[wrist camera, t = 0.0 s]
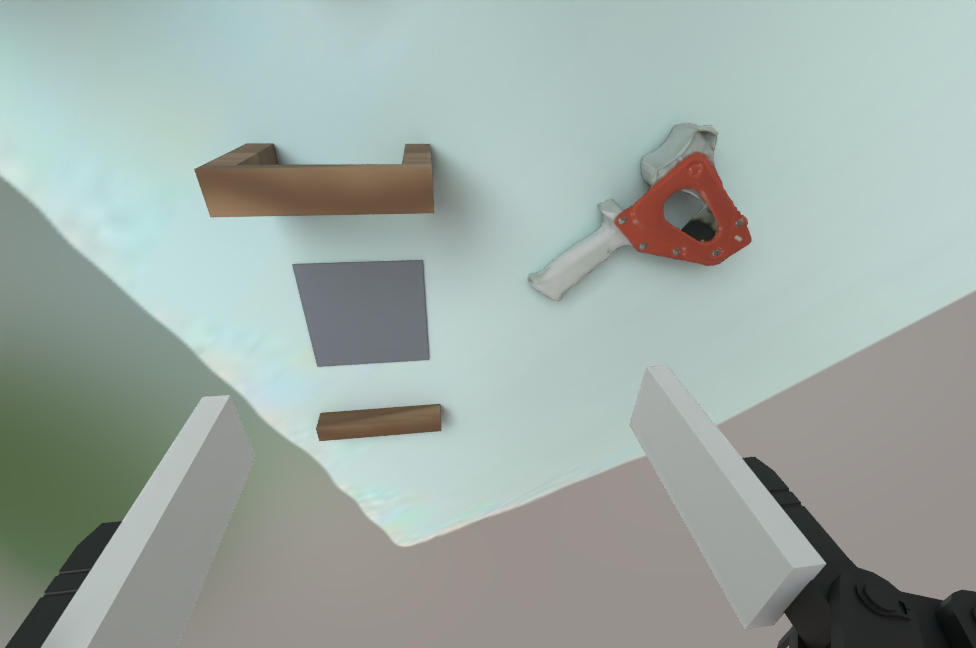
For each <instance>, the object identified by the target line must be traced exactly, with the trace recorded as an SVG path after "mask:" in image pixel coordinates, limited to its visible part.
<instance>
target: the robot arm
mask: <svg viewBox="0 0 976 648" xmlns="http://www.w3.org/2000/svg"><path fill="white" fill-rule="evenodd" d="M630 427H631V429H632V431H633V432H634V434H635V436H636V438H637V439H638V441H639V443H640V445H641V447H642V448H643V450H644V452H645V454H646V455H647V457H648V459H649V461H650V462H651V464H652V466H653V468H654V469H655V471H656V473H657V475H658V476H659V478H660V480H661V482H662V483H663V485H664V487H665V489H666V491H667V492H668V494H669V496H670V498H671V499H672V501H673V503H674V505H675V507H676V508H677V510H678V512H679V514H680V515H681V517H682V519H683V520H684V522H685V524H686V526H687V528H688V529H689V531H690V533H691V535H692V536H693V538H694V540H695V542H696V544H697V545H698V547H699V549H700V551H701V552H702V554H703V556H704V557H705V559H706V561H707V563H708V565H709V566H710V568H711V570H712V572H713V574H714V575H715V577H716V579H717V581H718V582H719V584H720V586H721V588H722V589H723V591H724V593H725V595H726V596H727V598H728V600H729V602H730V604H731V605H732V607H733V609H734V611H735V612H736V614H737V616H738V618H739V619H740V621H741V623H742V625H743V626H744V628H745V629H752V628H758V627H764V626H770V625H774V624H775V623H776V622H777V621H778V620H779V619H780V617H781V616H782V615H783V614H784V613H785V614H786V616H787V617H788V619H789V620H790V621H791V623H792V625H793V627H792V628H791V629H790V630H789V631H788V632H787V633H786V634H785V635H784V636H783V637H782V639H781V640H780V641H779V644H778V647H777V648H787V647H788V645H789V648H976V592H974V591H967V590H960V591H957V592H954V593H952V594H951V595H950V596H949V597H948V598H947V599H945V600H944V601H943V600H938V599H934V598H929V597H924V596H920V595H914V594H910V593H905V592H901V591H899V590H898V589H897V588H895V587H894V586H893V585H892V584H891V583H889V582H888V581H887V580H885V579H883V578H882V577H880V576H878V575H877V574H875V573H873V572H870V571H867V570H863V569H861V568H858V567H856V565H855V564H854V563H853V562H852V561H851V560H850V559H849V558H848V557H847V556H846V555H845V554H844V552H843V551H842V550H841V549H840V548H839V547H838V545H837V544H836V543H835V542H834V541H833V540H832V538H831V537H830V536H829V535H828V534H827V533H826V532H825V530H824V529H823V528H822V527H821V525H820V524H819V523H818V522H817V521H816V520H815V518H814V517H813V516H812V515H811V514H810V513H809V512H808V510H807V509H806V508H805V507H804V506H802V505H801V502H800V501H799V500H798V498H797V497H796V496H795V495H794V494H793V493H792V492H790V491H789V488H788V487H787V486H786V485H785V483H784V482H783V481H782V480H781V479H780V477H779V476H778V475H777V474H776V473H775V472H774V471H773V470H772V469H770V468H769V467H768V466H767V465H765V464H764V463H762V462H761V461H760V460H758V459H757V458H756V457H748V458H741V456H740V455H739V454H738V453H737V452H736V450H735V449H734V448H733V447H732V445H731V444H730V443H729V441H728V440H727V439H726V438H725V436H724V435H723V434H722V433H721V431H720V430H719V429H718V428H717V426H716V425H715V424H714V423H713V421H712V420H711V419H710V418H709V416H708V415H707V414H706V413H705V411H704V410H703V409H702V408H701V406H700V405H699V404H698V403H697V402H696V400H695V399H694V398H693V397H692V395H691V394H690V393H689V392H688V390H687V389H686V388H685V387H684V385H683V384H682V383H681V382H680V380H679V379H678V378H677V377H676V375H675V374H674V373H673V372H672V370H671V369H670V368H669V367H668V366H653V367H646V370H645V373H644V377H643V380H642V384H641V387H640V391H639V394H638V398H637V401H636V405H635V408H634V412H633V415H632V419H631V422H630ZM255 458H256V457H255V455H254V452H253V450H252V448H251V445H250V443H249V440H248V438H247V435H246V433H245V430H244V428H243V425H242V423H241V421H240V418H239V416H238V413H237V411H236V408H235V406H234V403H233V401H232V398H231V396H230V395H226V396H211V397H202V399H201V400H200V402H199V403H198V405H197V407H196V408H195V409H194V411H193V413H192V414H191V416H190V417H189V419H188V420H187V422H186V424H185V425H184V427H183V428H182V430H181V431H180V433H179V434H178V436H177V437H176V439H175V440H174V442H173V444H172V445H171V447H170V448H169V450H168V451H167V453H166V454H165V456H164V458H163V459H162V461H161V462H160V464H159V465H158V467H157V468H156V470H155V471H154V473H153V475H152V476H151V478H150V479H149V481H148V482H147V484H146V485H145V487H144V489H143V490H142V492H141V493H140V495H139V496H138V498H137V499H136V501H135V503H134V504H133V506H132V507H131V509H130V510H129V512H128V513H127V515H126V516H125V518H124V520H123V521H120V522H110V523H102V524H101V525H100V526H98V527H97V528H96V529H95V530H94V531H93V532H92V533H91V534H90V535H89V536H87V537H86V538H85V539H84V540H83V541H82V542H81V543H80V544H79V545H77V547H76V548H75V550H74V551H73V552H72V554H71V555H70V557H69V558H68V559H67V561H66V562H65V564H64V565H63V566H62V568H61V569H60V571H59V572H60V573H59V575H58V576H56V577H55V578H54V579H53V581H52V582H51V584H50V585H49V586H48V588H47V589H46V591H45V595H44V596H43V597H42V598H40V599H39V600H38V602H37V603H36V605H35V606H34V608H33V609H32V610H31V612H30V613H29V615H28V616H27V617H26V619H25V620H24V622H23V623H22V625H21V626H20V627H19V629H18V630H17V632H16V633H15V634H14V636H13V637H12V639H11V640H10V642H9V643H8V644H7V646H6V647H5V648H177V646H178V643H179V641H180V639H181V636H182V634H183V631H184V629H185V627H186V624H187V622H188V619H189V617H190V615H191V612H192V609H193V607H194V605H195V603H196V600H197V598H198V595H199V593H200V590H201V588H202V586H203V583H204V581H205V578H206V576H207V573H208V571H209V568H210V566H211V564H212V561H213V559H214V556H215V554H216V552H217V549H218V547H219V544H220V542H221V540H222V537H223V535H224V532H225V530H226V528H227V525H228V523H229V521H230V518H231V516H232V513H233V511H234V508H235V506H236V504H237V501H238V499H239V496H240V494H241V492H242V489H243V487H244V484H245V482H246V480H247V477H248V475H249V472H250V470H251V468H252V465H253V463H254V460H255Z"/></svg>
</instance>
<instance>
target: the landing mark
mask: <svg viewBox="0 0 976 648" xmlns="http://www.w3.org/2000/svg"><path fill="white" fill-rule="evenodd" d="M292 266H293V270H294V274H295V278H296V282H297V286H298V290H299V294H300V298H301V302H302V306H303V310H304V314H305V318H306V322H307V326H308V330H309V335H310V339H311V343H312V347H313V351H314V355H315V359H316V363H317V367H320V366H336V365H352V364H368V363H384V362H401V361H417V360H429V355H428V340H427V325H426V309H425V294H424V279H423V263H422V260H408V261H377V262H345V263H314V264H293V265H292Z"/></svg>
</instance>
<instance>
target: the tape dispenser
mask: <svg viewBox="0 0 976 648" xmlns="http://www.w3.org/2000/svg"><path fill="white" fill-rule="evenodd" d="M717 134H718V132H717V131H716V130H715V129H714V128H713V127H712V125H703V126H698V125H695V124H679V125H675V126H674V127H673V129H672V131H671V133H670V135H669V137H668V138H667V140H666V141H665V142H664V143H663V144H662V145H661V146H660V147H659V148H658V149H656V150H655V151H653V152H651V153H649V154H647V155H645V156H643V157H642V160H641V172H642V176H643V178H644V181H645V182H646V183H647V184H649V185H651V186H650V189H649V190H648V192H647V193H646V194H645V195H644V196H643V197H642V198H641V199H639V200H638V201H637V202H636V203H635V204H634V205H633V206H631V207H630V208H628V209H626V210H624V211H623V210H622V209H621V208H620V207H619V206H618V205H617V204H616V202H615V201H614V200H612V199H610V198H609V199H606V200H604V201H603V202H601V203H599V204H598V205H597V207H598V208H599V210H600V211H601V213H602V214H603V219H604V220H603V222H602V225H601V226H600V228H599V229H598V230H597V231H595V232H594V233H592V234H591V235H589V236H587V237H586V238H584V239H583V240H581V241H580V242H578V243H576V244H575V245H573V246H572V247H570V248H569V249H568V250H566V251H565V252H564V253H562V254H561V255H560V256H558V257H557V258H556V259H554V260H553V261H552V262H551V263H550V264H549V265H548V266H546V267H545V268H544V269H543V270H541V271H539V272H537V273H531V274H529V275H528V281H529V283H530V284H531V285H532V286H533V288H535V289H536V290H537V291H539V292H541V293H542V294H544V295H545V296H547V297H549V298H550V299H552V300H555V301H559V300H561V298H562V296H563V295H564V293H565V292H566V291H567V290H568V289H569V288H570V287H571V286H573V285H575V284H577V283H578V282H579V281H580V280H581V278H582V277H583V276H584V275H586V274H588V273H590V272H592V270H593V269H594V268H595V267H596V266H597V265H598V264H599V263H601V262H603V261H605V260H607V258H608V257H609V256H610V255H611V253H612V252H613V251H615V250H616V249H618V248H619V247H621V246H625V245H629V246H632V247H634V248H635V249H636V250H637V251H639V252H643V253H648V254H653V255H658V256H663V257H668V258H673V259H679V260H684V261H689V262H694V263H699V264H703V265H706V266H713V265H717V264H720V263H721V262H723V261H724V260H725V259H727V258H728V257H729V256H731V255H732V254H734V253H736V252H737V251H739V250H740V249H742V248H744V247H745V246H747V245H748V244H750V242H751V236H750V233H749V230H748V228H747V224H748V221H747V218H746V217H745V216H743V215H741V214H740V212H739V211H737V207H735V206H734V204H733V201H732V200H731V199H730V198H729V196H728V195H727V193H726V191H725V190H724V188H723V185H722V181H721V179H720V177H719V176H718V174H717V171H716V169H715V166H714V161H713V154H714V149H715V146H716V141H717ZM678 190H680V191H683V192H685V193H687V194H689V195H691V196H693V197H695V198H697V199H699V200H702V201H703V202H705V205H704V206H703V207H702V208H701V209H700V211H699V212H698V213H697V214H696V215H694V217H693V218H692V219H691V220H690V221H689V222H688V223H687V224H686V225H685V226H684V228H683V229H682V231H681V230H680V229H678V228H676V227H674V226H673V225H671V224H670V223H668V222H667V221H666V220H665V218H664V213H663V207H664V203H665V201H666V200H667V199H668V198H669V197H670V196H671V195H672V194H674V193H675V192H677V191H678Z"/></svg>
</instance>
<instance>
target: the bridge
mask: <svg viewBox="0 0 976 648" xmlns="http://www.w3.org/2000/svg"><path fill="white" fill-rule="evenodd" d="M194 170H195V173H196V176H197V179H198V182H199V185H200V187H201V190H202V193H203V196H204V199H205V202H206V205H207V208H208V211H209V214H210V217H248V216H304V215H359V214H415V213H434V198H433V177H432V162H431V152H430V144H406V145H405V150H404V156H403V161H402V164H367V165H278V162H277V158H276V154H275V149H274V145H273V144H245V145H243V146H241V147H239V148H237V149H235V150H233V151H231V152H229V153H226V154H224V155H222V156H220V157H218V158H216V159H214V160H212V161H210V162H208V163H206V164H204V165H202V166H200V167H198V168H196V169H194Z"/></svg>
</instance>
